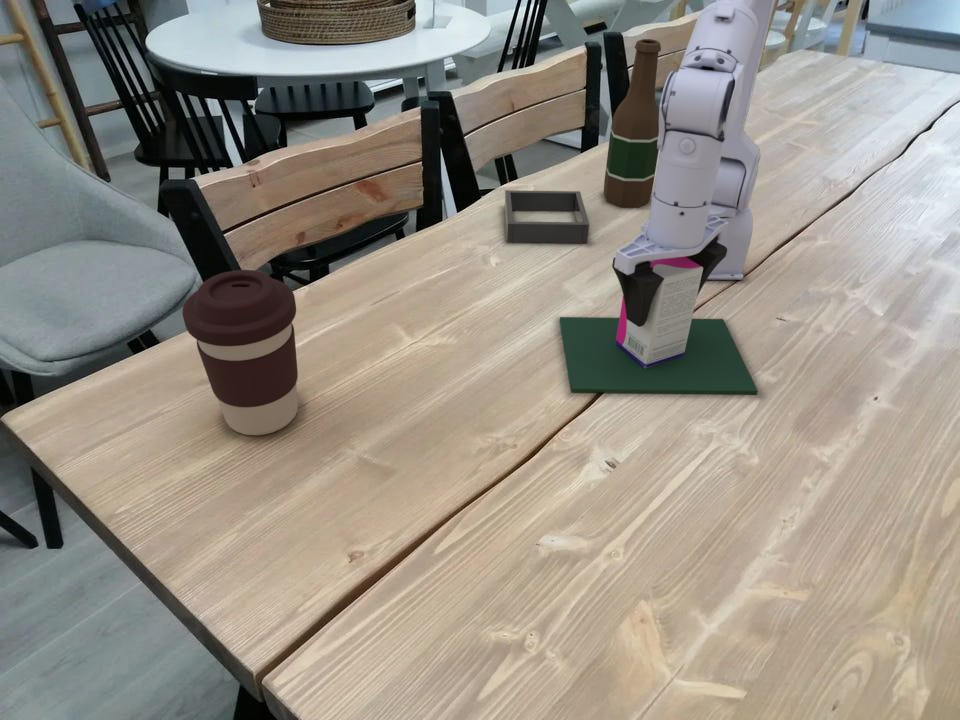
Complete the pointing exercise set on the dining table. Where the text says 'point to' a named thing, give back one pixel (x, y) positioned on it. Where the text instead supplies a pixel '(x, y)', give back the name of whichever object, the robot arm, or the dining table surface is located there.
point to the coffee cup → (247, 347)
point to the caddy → (546, 230)
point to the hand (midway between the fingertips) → (660, 311)
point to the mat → (612, 370)
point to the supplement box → (663, 315)
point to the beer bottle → (635, 134)
